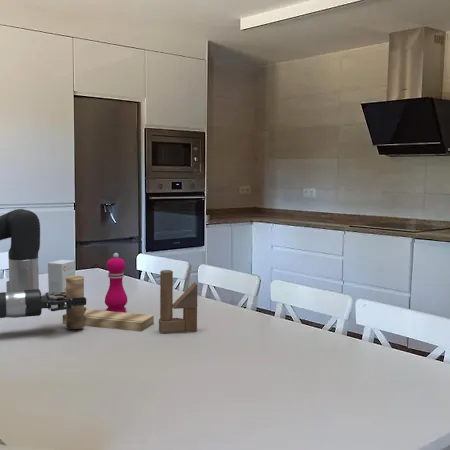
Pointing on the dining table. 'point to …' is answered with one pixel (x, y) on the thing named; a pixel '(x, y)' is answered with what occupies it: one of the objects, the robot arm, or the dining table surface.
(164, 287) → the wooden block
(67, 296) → the wooden cylinder yellow top
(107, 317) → the board
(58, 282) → the small box
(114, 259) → the pepper mill
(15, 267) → the robot arm
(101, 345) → the dining table surface
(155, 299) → the dining table surface
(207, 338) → the dining table surface
